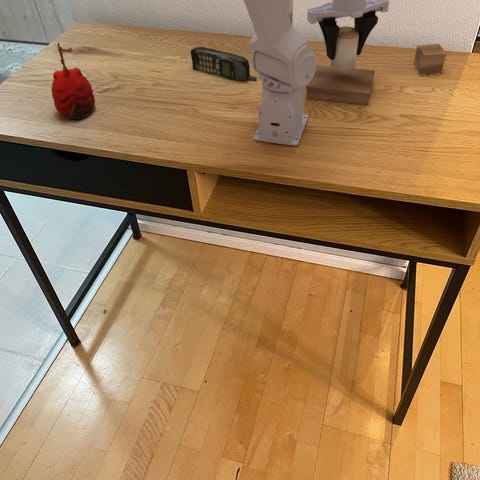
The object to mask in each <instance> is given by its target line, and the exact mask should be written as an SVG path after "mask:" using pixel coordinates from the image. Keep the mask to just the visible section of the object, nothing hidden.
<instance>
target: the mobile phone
mask: <svg viewBox="0 0 480 480" xmlns="http://www.w3.org/2000/svg"><path fill="white" fill-rule="evenodd" d="M190 59H191V65H192V69H193V70H195V71H199V72H202V73H206V74H211V75H214V76H217V77H221V78H224V79H227V80H233V81H245V80H252V81H257V80H258V78H257V77H256V76H252V75H251V73H250V71H251V69H250V68H251V67H250V63H249V60H248V59H247V57H244V56H241V55H238V54H235V53H232V52H228V51H222V50H219V49H215V48H209V47H203V46H197V47H194V48H192V49H190Z"/></svg>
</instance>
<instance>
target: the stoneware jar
mask: <svg viewBox="0 0 480 480" xmlns="http://www.w3.org/2000/svg"><path fill="white" fill-rule="evenodd" d="M339 27H340V30H339V33H338V37H337V42H336V53H335V59H334V60H330V66H331V67H332V68H333V69H335V70H338V71H349V70H352V69H353V68H355V67H356V62H357V56H358V55H357V48H358V40H359V33H358V30H357V29H355V28H354V27H353V26H346V25H345V26H339Z"/></svg>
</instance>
